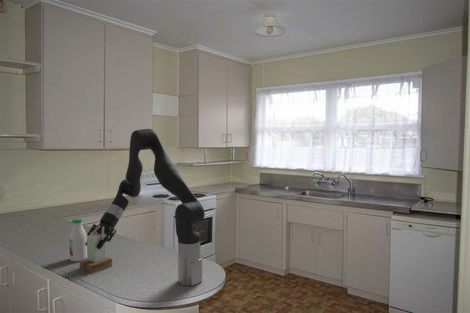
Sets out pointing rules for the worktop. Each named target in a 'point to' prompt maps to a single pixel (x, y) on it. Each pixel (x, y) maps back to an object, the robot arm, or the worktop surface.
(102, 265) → the walnut box
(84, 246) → the milk bottle
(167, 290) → the worktop surface
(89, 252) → the tea tin
